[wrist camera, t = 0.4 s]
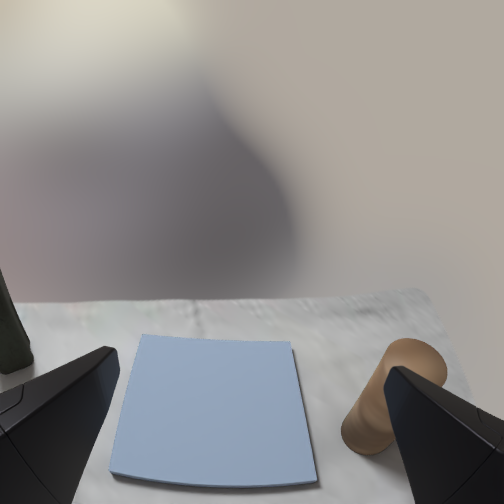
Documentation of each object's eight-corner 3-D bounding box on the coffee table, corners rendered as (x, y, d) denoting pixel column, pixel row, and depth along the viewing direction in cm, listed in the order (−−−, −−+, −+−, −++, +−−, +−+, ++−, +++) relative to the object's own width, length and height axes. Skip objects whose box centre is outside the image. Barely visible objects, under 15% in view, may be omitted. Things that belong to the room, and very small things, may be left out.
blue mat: (314, 482, 18) (317, 479, 17) (111, 473, 16) (108, 470, 16) (288, 346, 32) (289, 341, 31) (143, 339, 30) (142, 334, 30)
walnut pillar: (399, 445, 20) (458, 381, 15) (350, 461, 19) (405, 400, 14) (380, 404, 25) (425, 334, 20) (334, 415, 24) (373, 343, 19)
